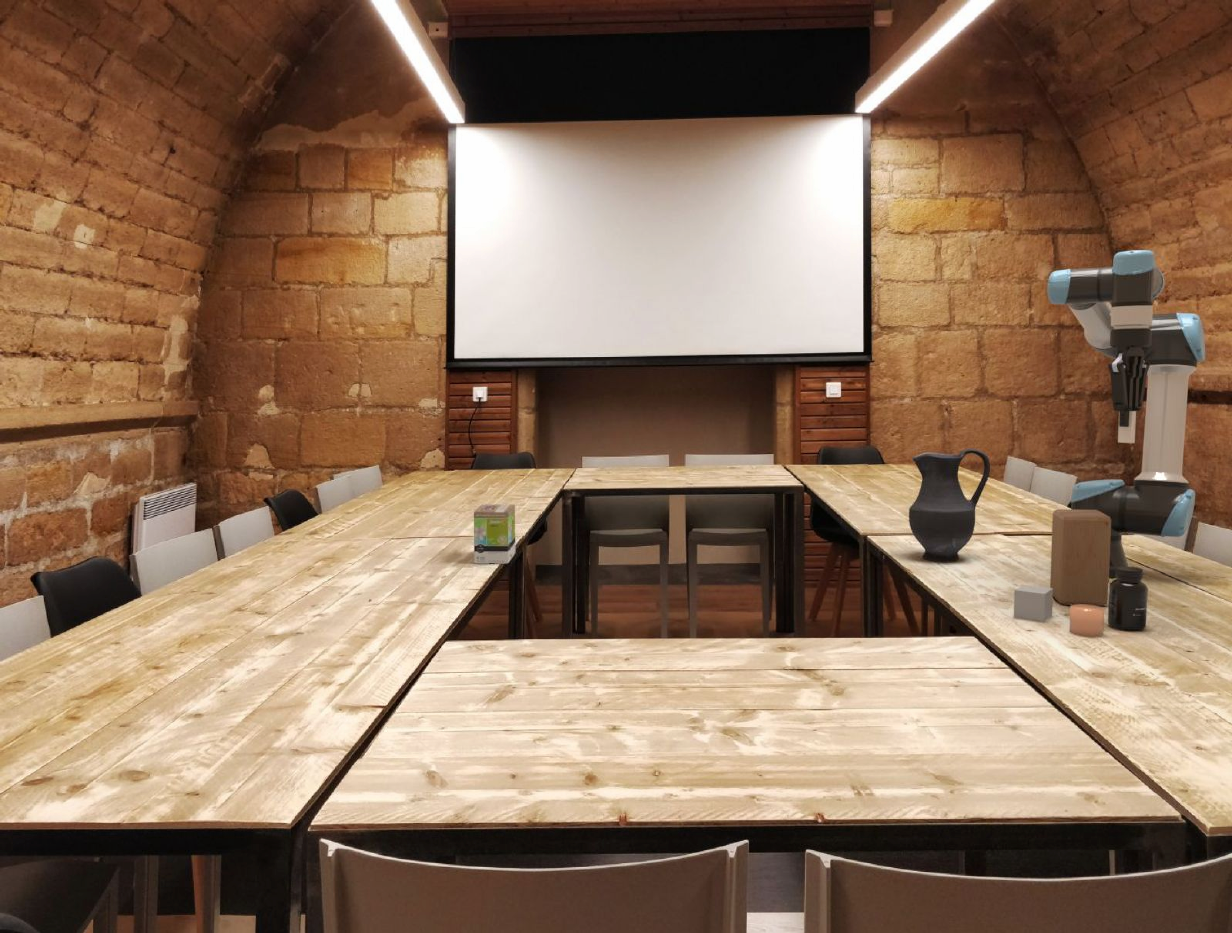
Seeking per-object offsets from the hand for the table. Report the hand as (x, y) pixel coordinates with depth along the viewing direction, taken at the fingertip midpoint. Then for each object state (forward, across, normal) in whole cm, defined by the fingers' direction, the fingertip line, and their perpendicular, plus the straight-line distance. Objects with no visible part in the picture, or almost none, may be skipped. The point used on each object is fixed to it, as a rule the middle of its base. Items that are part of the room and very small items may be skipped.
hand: (1126, 442), depth 200 cm
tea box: (+37, +73, -138) cm, 160 cm away
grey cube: (+36, +16, -10) cm, 41 cm away
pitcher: (+37, -22, -57) cm, 71 cm away
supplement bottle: (+37, +9, +6) cm, 38 cm away
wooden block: (+37, -4, -11) cm, 38 cm away
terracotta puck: (+36, +19, +3) cm, 41 cm away
